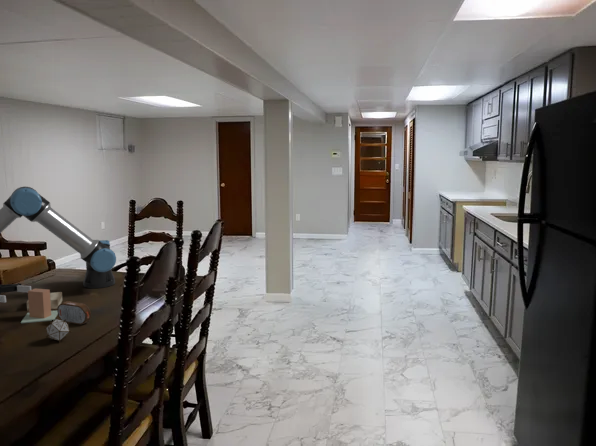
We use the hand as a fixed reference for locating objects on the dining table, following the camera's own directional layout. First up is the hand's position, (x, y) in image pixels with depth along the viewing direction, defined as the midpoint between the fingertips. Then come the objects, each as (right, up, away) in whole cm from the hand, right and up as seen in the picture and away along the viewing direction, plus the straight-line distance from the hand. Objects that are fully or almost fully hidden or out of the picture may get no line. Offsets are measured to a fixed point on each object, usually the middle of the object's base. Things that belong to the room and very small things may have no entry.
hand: (18, 294), depth 197 cm
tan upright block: (+9, -9, -1) cm, 13 cm away
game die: (+29, -13, -24) cm, 40 cm away
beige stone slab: (+4, -7, +14) cm, 16 cm away
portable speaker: (+26, -11, -7) cm, 29 cm away
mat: (+10, -9, -1) cm, 13 cm away
